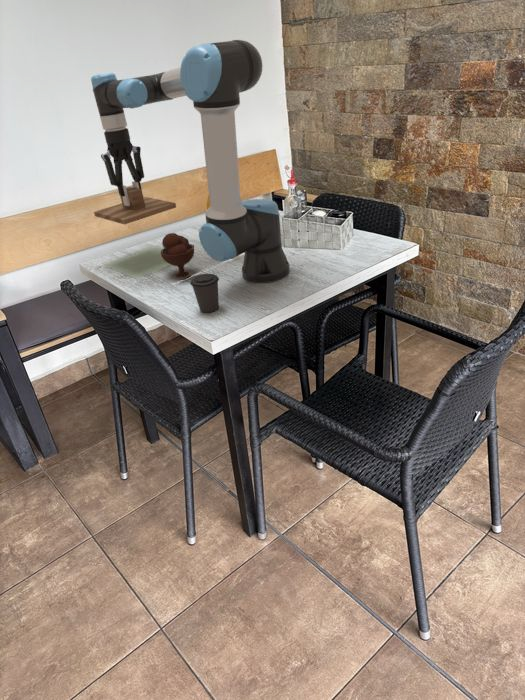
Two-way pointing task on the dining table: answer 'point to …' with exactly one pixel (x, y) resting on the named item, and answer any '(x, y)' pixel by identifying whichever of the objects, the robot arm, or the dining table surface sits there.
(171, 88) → the robot arm
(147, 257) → the green mat
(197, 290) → the coffee cup
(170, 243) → the ice cream bowl
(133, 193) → the walnut cover
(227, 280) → the dining table surface
